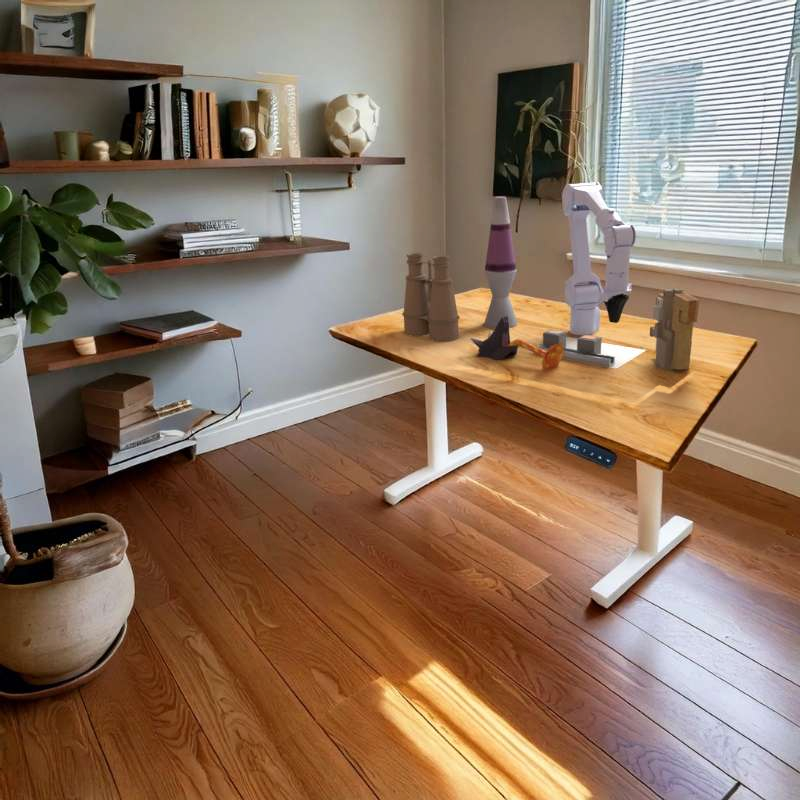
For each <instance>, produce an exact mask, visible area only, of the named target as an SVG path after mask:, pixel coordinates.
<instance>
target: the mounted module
mask: <svg viewBox="0 0 800 800" xmlns="http://www.w3.org/2000/svg"><path fill="white" fill-rule="evenodd" d="M566 337H567V331H562V330H561V331H560V330H554V329H549V330H547V331H544V332H543V333H542V344H547V345H552V346H553V345H555V344H558V343H561V342H562V343H563V348H566Z"/></svg>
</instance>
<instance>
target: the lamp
mask: <svg viewBox="0 0 800 800" xmlns="http://www.w3.org/2000/svg"><path fill="white" fill-rule="evenodd" d="M493 200H494V201H493V204H492V205H493V207H492V213H491V219H490V230H489V237H488V244H487V250H486V258H485V266H484V270H483V273H484V275H485V278H486V281H487V284H488V287H489V290H490V292H491V293H490V294H491V296H492V297H491V300H490V304H489V306H488V310H487V313H486V317H485V319H484V322H483V325H484V327H487V328H490V329H494V328H496V326H497V325H498V323H499V321H500V319H501V318H502V317H505V316H508V322H509V327H511V328H513V326H514V327H516V326H517V325H518V321H517V318H516V314H515V312H514V308H513V305H512V303H511V300H510V296H509V295H510V293H511V289H512V286H513V282H514V280H515V278H516V275H517V271H518V270H517V265H516V258H515V252H514V251H515V250H514V245H513V237H512V230H511V220H510V213H509V207H508V201H507V197H506V196H495V197H494V199H493ZM515 325H516V326H515Z"/></svg>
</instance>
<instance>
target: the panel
mask: <svg viewBox="0 0 800 800" xmlns="http://www.w3.org/2000/svg"><path fill="white" fill-rule="evenodd" d="M577 338H578V337H577ZM577 338H575V337H569V336H566V348H569V349H575V350H577ZM646 351H647V349H641V348H635V347H630V346H629V347H628V346H623V345H618V344H611V343H606V342H601V354H603V355H608V356H614V357H615V364H614V365H612V366H610V367H609V368H611V369H616V370H617V369H619V368H621V367H622V366H623V365H625V364H627V363H628V362H630V361H631V360H633V359H635V358H637V357H638V356H641V354H643V353H644V352H646ZM529 353H532V354H534V353H533V352H531V351H529ZM562 359H563V358H562ZM562 359H561V360H562ZM567 360H569V359H567ZM569 361H570V360H569ZM572 361H574V360H572ZM574 362H575V361H574ZM577 362H578V363H580V362H579V361H577ZM582 363H584V362H582ZM588 364H589V365H591V364H590V363H588ZM593 365H595V364H593ZM595 366H596V365H595ZM598 366H599V367H601V366H600V365H598ZM603 367H605V366H603Z"/></svg>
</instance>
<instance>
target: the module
mask: <svg viewBox="0 0 800 800" xmlns="http://www.w3.org/2000/svg"><path fill="white" fill-rule="evenodd" d="M602 339H603V338H602V337H601V336H594V335H580V337H577V350H580V351H586V352H591V353H597V354H601V343H602Z"/></svg>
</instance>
